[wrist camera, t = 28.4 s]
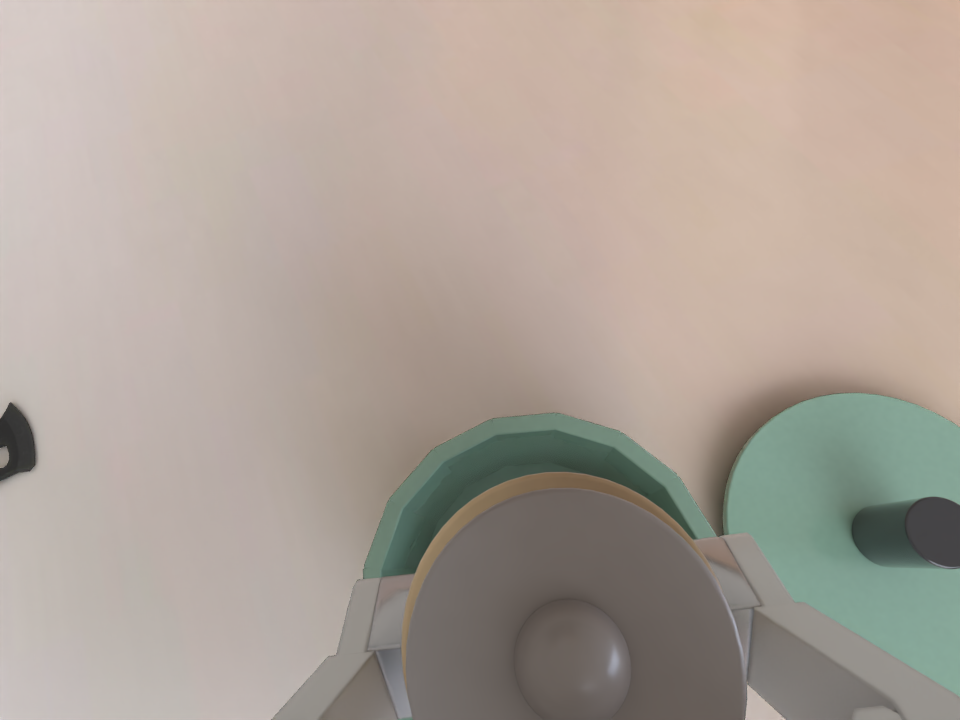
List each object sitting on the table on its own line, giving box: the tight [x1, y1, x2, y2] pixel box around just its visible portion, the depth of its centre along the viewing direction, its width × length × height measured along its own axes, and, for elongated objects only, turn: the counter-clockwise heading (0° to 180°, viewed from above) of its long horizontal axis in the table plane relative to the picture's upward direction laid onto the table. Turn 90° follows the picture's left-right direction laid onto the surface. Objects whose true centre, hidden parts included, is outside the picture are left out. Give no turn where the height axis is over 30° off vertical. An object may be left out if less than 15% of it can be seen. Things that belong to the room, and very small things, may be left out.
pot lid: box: [723, 393, 960, 697], centre depth 21 cm, size 12×12×5 cm
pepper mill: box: [401, 472, 747, 720], centre depth 10 cm, size 4×4×11 cm
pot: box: [363, 413, 716, 720], centre depth 21 cm, size 11×11×8 cm
